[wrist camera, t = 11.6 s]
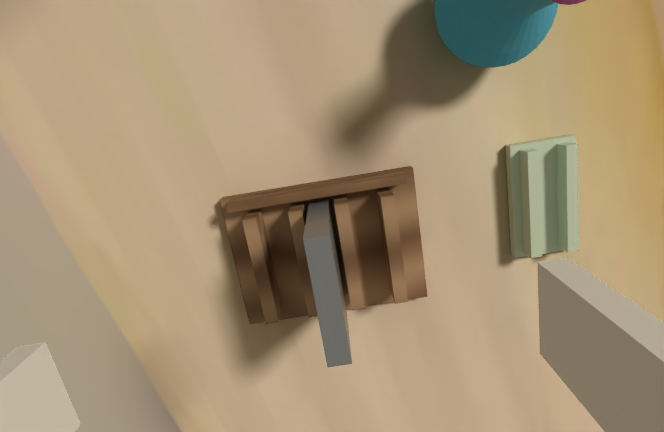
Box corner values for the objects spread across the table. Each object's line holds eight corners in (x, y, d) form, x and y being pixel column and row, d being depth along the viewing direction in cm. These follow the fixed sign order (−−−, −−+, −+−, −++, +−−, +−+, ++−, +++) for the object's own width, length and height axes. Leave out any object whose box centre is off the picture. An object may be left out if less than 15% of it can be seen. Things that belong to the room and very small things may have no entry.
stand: (505, 145, 38) (518, 147, 35) (569, 134, 38) (587, 136, 35) (510, 254, 41) (523, 264, 38) (570, 245, 41) (587, 254, 38)
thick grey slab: (309, 201, 38) (303, 238, 27) (328, 198, 38) (329, 234, 27) (326, 298, 40) (327, 367, 30) (344, 296, 40) (352, 363, 30)
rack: (222, 197, 39) (210, 208, 34) (410, 166, 38) (421, 173, 34) (251, 318, 42) (243, 342, 38) (424, 291, 42) (435, 312, 37)
